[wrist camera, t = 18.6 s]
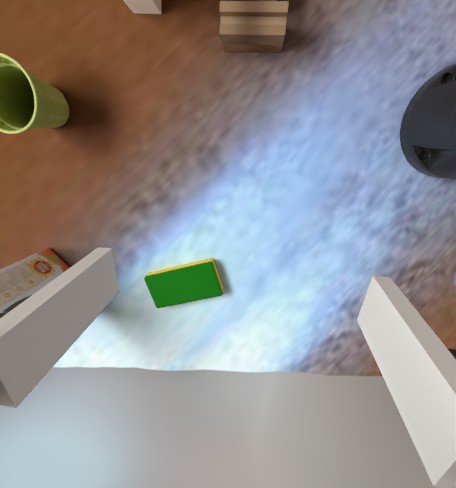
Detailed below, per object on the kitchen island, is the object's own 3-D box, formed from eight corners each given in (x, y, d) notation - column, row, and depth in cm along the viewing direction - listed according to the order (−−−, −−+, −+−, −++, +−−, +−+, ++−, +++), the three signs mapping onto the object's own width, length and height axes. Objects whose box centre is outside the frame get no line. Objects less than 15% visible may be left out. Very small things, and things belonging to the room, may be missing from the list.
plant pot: (28, 62, 39) (-33, 38, 31) (84, 88, 39) (40, 70, 31) (22, 124, 42) (-34, 116, 34) (74, 147, 42) (32, 145, 34)
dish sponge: (148, 271, 50) (143, 277, 47) (213, 256, 47) (211, 261, 45) (160, 302, 52) (156, 308, 49) (224, 289, 49) (222, 295, 47)
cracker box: (33, 263, 51) (-104, 329, 31) (49, 246, 49) (-85, 305, 30) (84, 310, 54) (-13, 398, 34) (101, 295, 52) (9, 379, 32)
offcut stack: (283, 26, 34) (288, 1, 28) (280, 52, 35) (285, 33, 29) (225, 26, 35) (219, 0, 29) (224, 51, 36) (218, 32, 30)
